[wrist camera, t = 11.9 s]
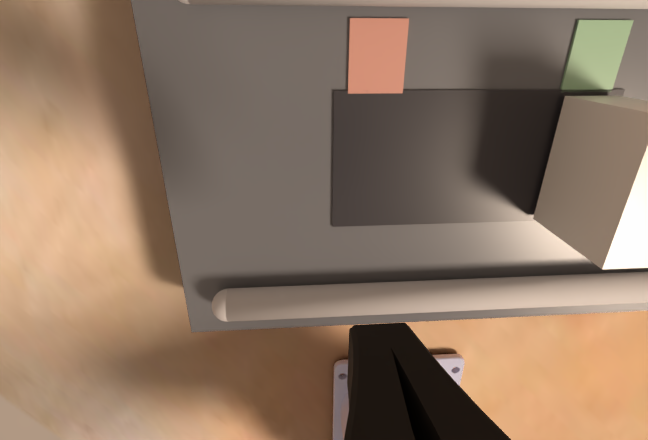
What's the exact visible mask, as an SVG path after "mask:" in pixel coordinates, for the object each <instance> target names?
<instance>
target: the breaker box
mask: <svg viewBox="0 0 648 440" xmlns="http://www.w3.org/2000/svg"><path fill="white" fill-rule="evenodd" d="M131 4H132V9H133V15H134V20H135V26H136V31H137V36H138V42H139V47H140V53H141V58H142V64H143V69H144V75H145V80H146V86H147V91H148V96H149V102H150V107H151V113H152V118H153V124H154V129H155V135H156V140H157V145H158V151H159V156H160V162H161V167H162V173H163V178H164V184H165V189H166V195H167V200H168V205H169V211H170V216H171V222H172V227H173V233H174V238H175V244H176V249H177V254H178V260H179V265H180V271H181V276H182V282H183V287H184V293H185V298H186V304H187V309H188V314H189V320H190V325H191V331H192V332H207V331H228V330H249V329H270V328H291V327H313V326H334V325H355V324H376V323H397V322H418V321H439V320H460V319H482V318H503V317H524V316H545V315H566V314H587V313H608V312H629V311H648V302H647V303H625V304H603V305H581V306H559V307H537V308H515V309H494V310H472V311H450V312H428V313H406V314H384V315H362V316H341V317H319V318H297V319H275V320H253V321H231V322H227V321H221V320H220V319H218V318H217V317H216V316H215V315H214V313H213V311H212V301H213V298H214V296H215V295H216V294H217V293H218V292H219V291H221V290H223V289H228V288H251V287H276V286H301V285H326V284H351V283H376V282H401V281H426V280H451V279H476V278H501V277H526V276H552V275H577V274H602V273H627V272H648V268H627V269H601V268H599V267H598V266H597V265H595V264H594V263H593V262H591V261H590V260H589V259H587V258H586V257H585V256H583V255H582V254H580V253H579V252H578V251H576V250H575V249H574V248H572V247H571V246H570V245H568V244H567V243H565V242H564V241H563V240H561V239H560V238H559V237H557V236H556V235H555V234H553V233H552V232H550V231H549V230H548V229H546V228H545V227H544V226H542V225H541V224H540V223H538V222H537V221H535V220H534V219H533V217H534V213H535V210H536V206H537V202H538V198H539V194H540V190H541V186H542V183H543V179H544V175H545V171H546V167H547V163H548V159H549V155H550V152H551V148H552V144H553V140H554V136H555V132H556V128H557V125H558V121H559V117H560V113H561V109H562V105H563V101H564V98H565V96H622V97H628V98H634V99H640V100H646V101H648V9H584V8H485V7H386V6H287V5H191V4H185V3H182V2H180V1H178V0H131Z"/></svg>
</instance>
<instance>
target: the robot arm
mask: <svg viewBox="0 0 648 440" xmlns="http://www.w3.org/2000/svg"><path fill="white" fill-rule="evenodd" d="M454 367H455V368H454ZM463 368H464V359H463V357H462V356H461V355H460V354H441V355H432V354H431V353H430V352H429V351H428V349H427V348H426V347H425V346H424V345H423V343H422V342H421V341H420V340H419V338H418V337H417V336H416V335H415V333H414V332H413V331H412V330H411V329H410V327H409V326H408V325H407V324H406V323H389V324H369V325H354V326H353V327H352V328H350V330H349V353H348V360H339V361H337V362H336V363H335V364H334V385H333V438H332V440H511V439H510V438H509V437H508V436H507V435H506V434H505V433H504V432H503V431H502V430H501V429H500V428H499V427H498V426H497V425H496V424H495V423H494V422H493V421H492V420H491V419H490V418H489V417H488V416H487V415H486V414H485V413H484V412H483V411H482V410H481V409H480V408H479V407H478V406H477V405H476V404H475V403H474V401H473V400H472V399H471V398H470V397H469V396H468V395H467V394H466V393H465V392H464V391H463V389H462V388H461V387H460V382H461V377H462V372H463ZM342 373H344V374H342ZM340 374H342V375H340Z"/></svg>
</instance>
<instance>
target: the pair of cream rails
mask: <svg viewBox="0 0 648 440" xmlns="http://www.w3.org/2000/svg"><path fill="white" fill-rule="evenodd" d="M178 1H180V2H182V3H185V4H191V5H287V6H386V7H485V8H584V9H648V0H178ZM647 302H648V272H627V273H602V274H577V275H552V276H526V277H501V278H476V279H451V280H426V281H401V282H376V283H351V284H326V285H301V286H276V287H251V288H228V289H223V290H221V291H219V292H218V293H217V294H216V295H215V296H214V298H213V301H212V311H213V313H214V315H215V316H216V317H217V318H218V319H220V320H221V321H227V322H231V321H253V320H275V319H297V318H319V317H341V316H362V315H384V314H406V313H428V312H450V311H472V310H494V309H515V308H537V307H559V306H581V305H603V304H625V303H647Z"/></svg>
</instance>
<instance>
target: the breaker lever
mask: <svg viewBox="0 0 648 440" xmlns="http://www.w3.org/2000/svg"><path fill="white" fill-rule="evenodd" d="M533 219H534V220H535V221H537V222H538V223H540V224H541V225H542V226H544V227H545V228H546V229H548V230H549V231H550V232H552V233H553V234H555V235H556V236H557V237H559V238H560V239H561V240H563V241H564V242H565V243H567V244H568V245H570V246H571V247H572V248H574V249H575V250H576V251H578V252H579V253H580V254H582V255H583V256H585V257H586V258H587V259H589V260H590V261H591V262H593V263H594V264H595V265H597V266H598V267H599V268H601V269H627V268H648V101H646V100H640V99H634V98H628V97H622V96H565V98H564V101H563V105H562V109H561V113H560V117H559V121H558V125H557V128H556V132H555V136H554V140H553V144H552V148H551V152H550V155H549V159H548V163H547V167H546V171H545V175H544V179H543V183H542V186H541V190H540V194H539V198H538V202H537V206H536V210H535V213H534V217H533Z"/></svg>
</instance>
